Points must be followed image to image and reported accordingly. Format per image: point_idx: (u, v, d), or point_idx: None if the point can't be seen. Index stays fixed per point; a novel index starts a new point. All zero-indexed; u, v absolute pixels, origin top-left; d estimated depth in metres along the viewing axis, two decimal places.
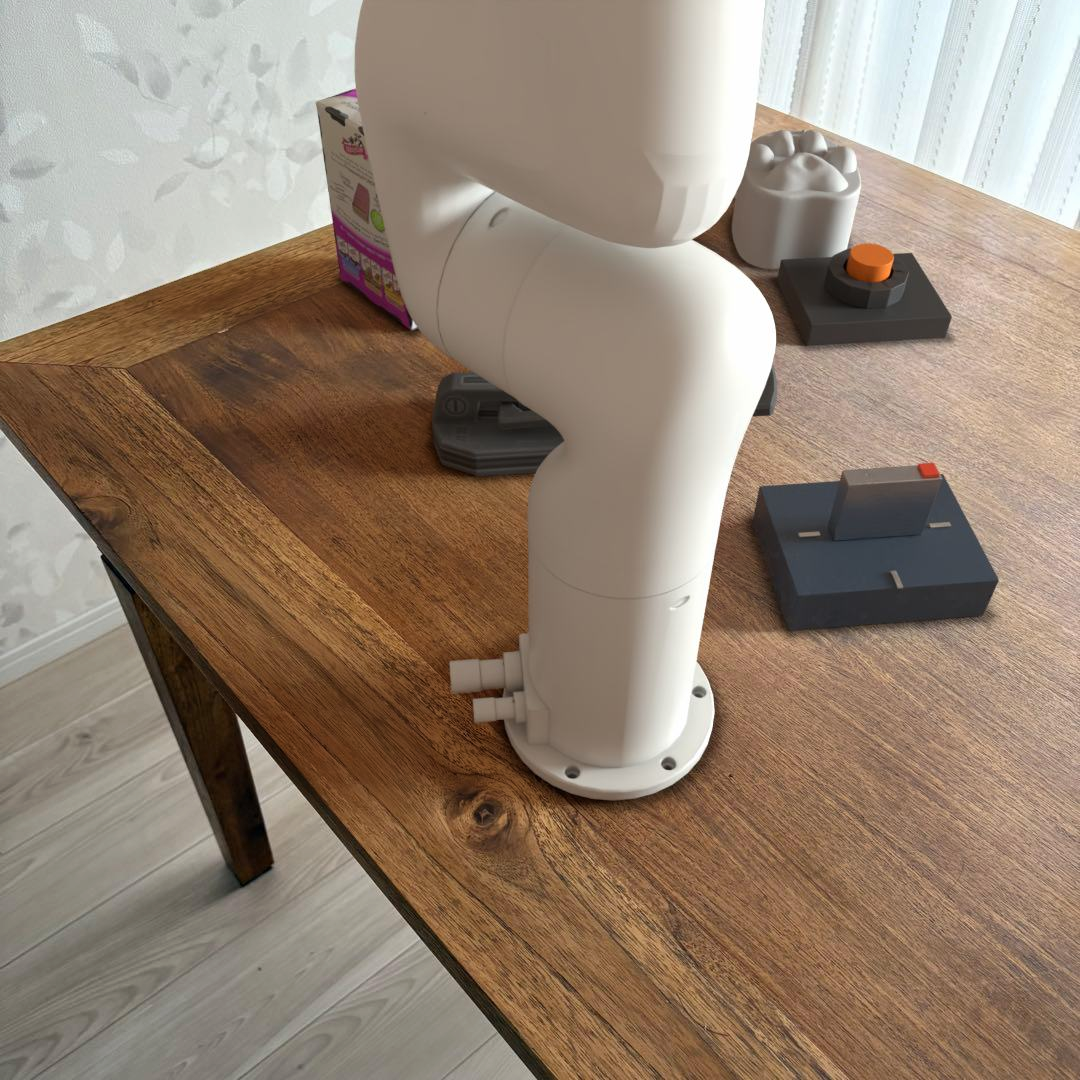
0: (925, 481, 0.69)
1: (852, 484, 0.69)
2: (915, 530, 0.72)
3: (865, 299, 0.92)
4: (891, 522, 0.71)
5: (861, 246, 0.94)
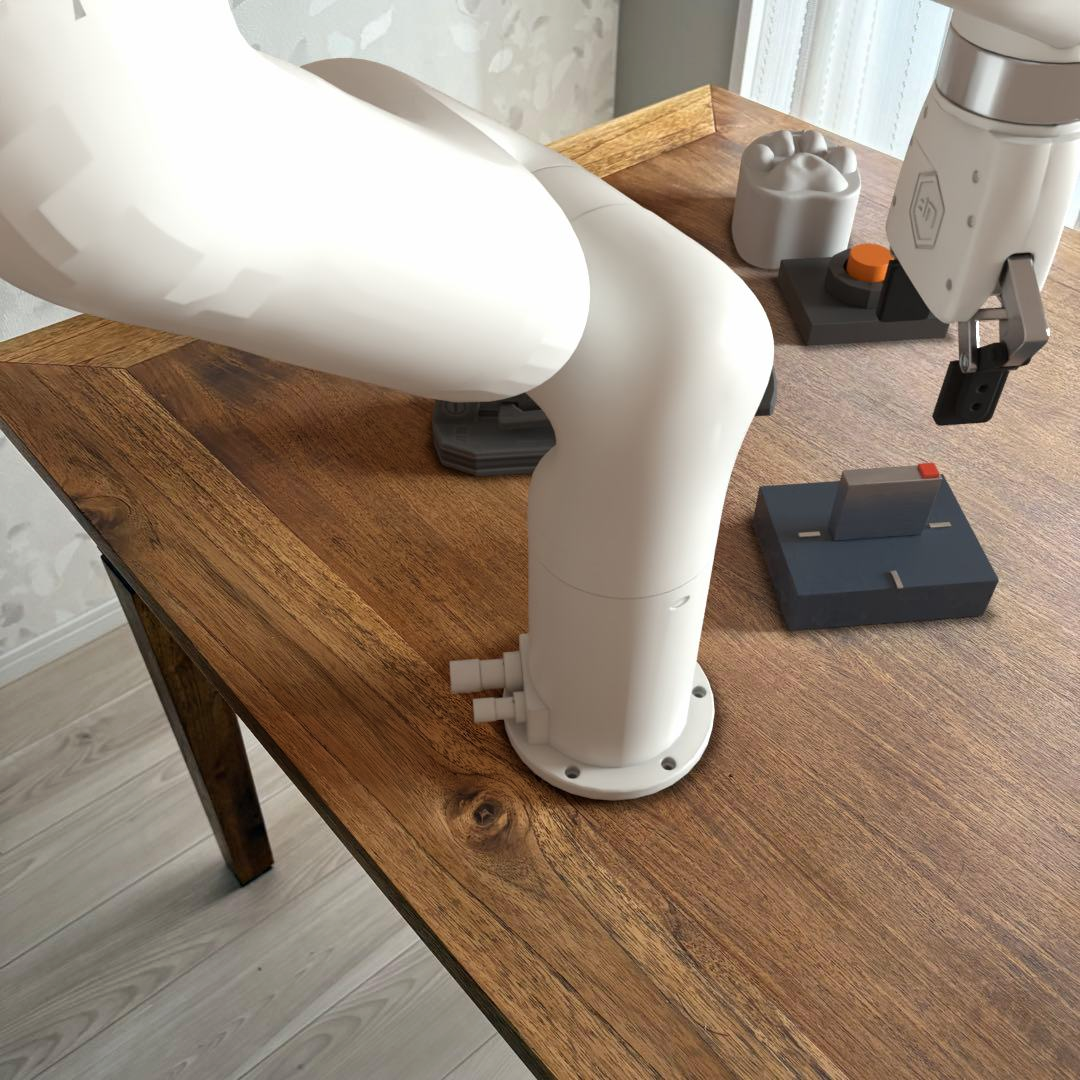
0: (925, 481, 0.69)
1: (852, 484, 0.69)
2: (915, 530, 0.72)
3: (865, 299, 0.92)
4: (891, 522, 0.71)
5: (861, 246, 0.94)
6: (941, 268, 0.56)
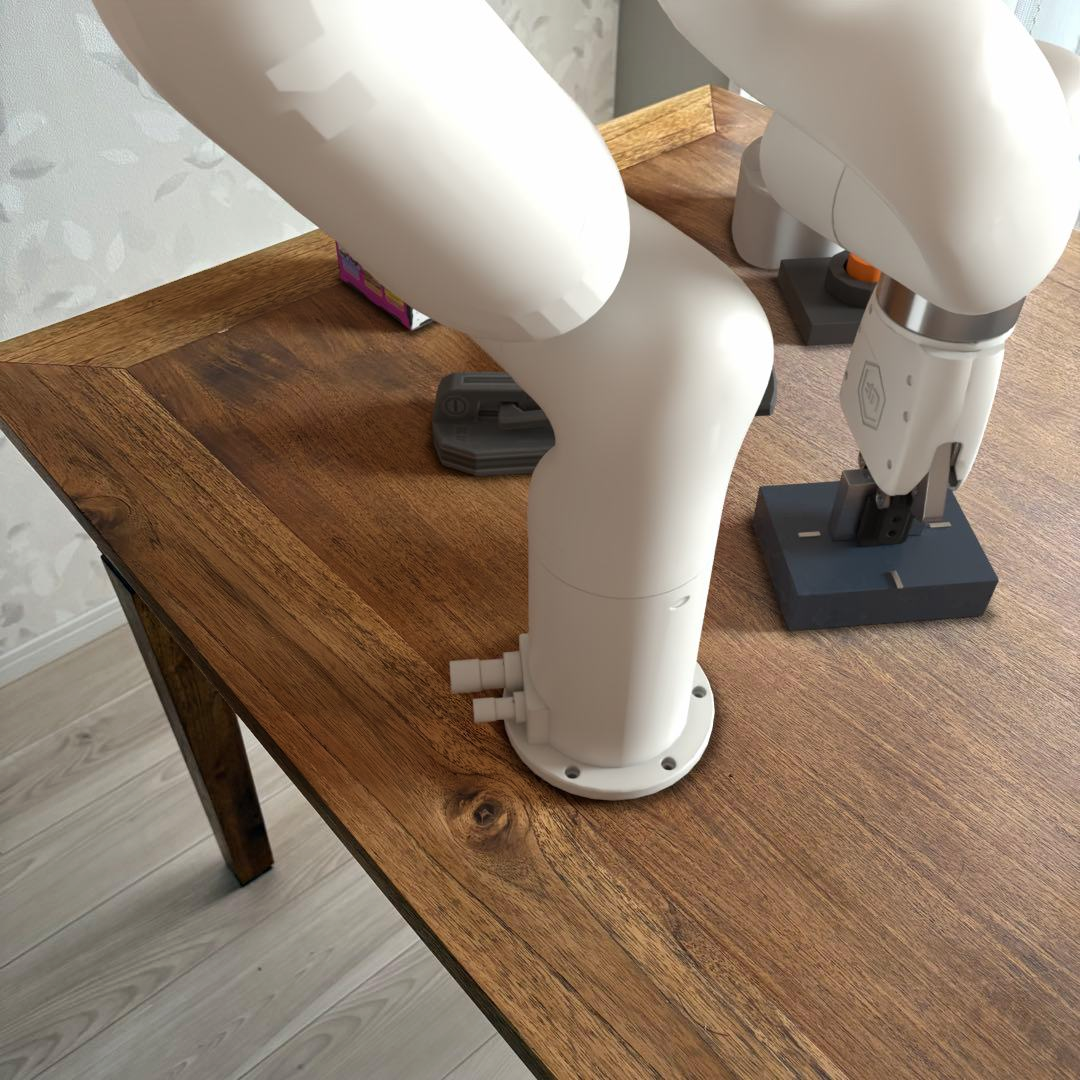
0: None
1: (852, 484, 0.69)
2: (915, 530, 0.72)
3: (865, 299, 0.92)
4: None
5: None
6: (883, 448, 0.63)
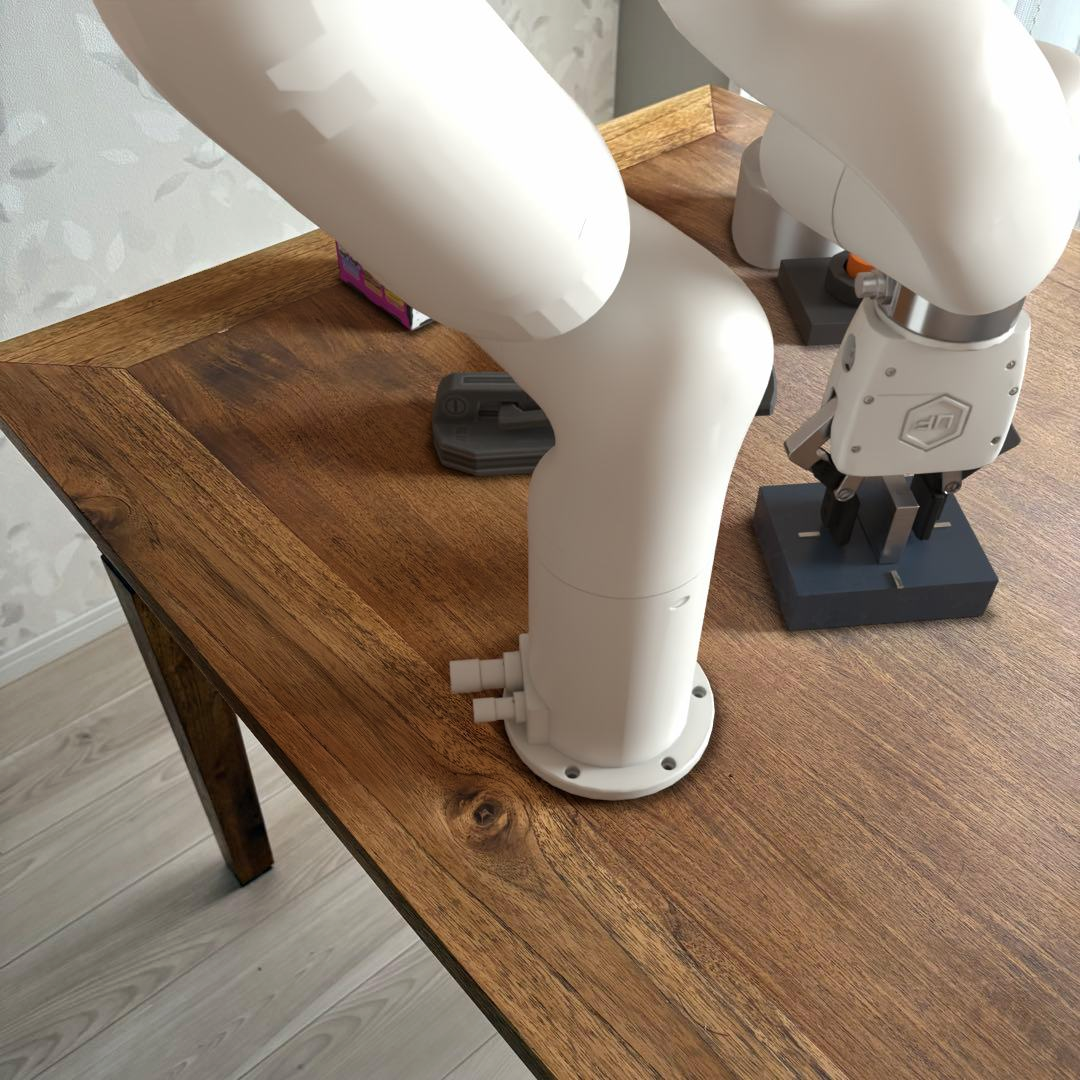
0: None
1: (917, 504, 0.67)
2: None
3: None
4: None
5: None
6: (979, 438, 0.64)
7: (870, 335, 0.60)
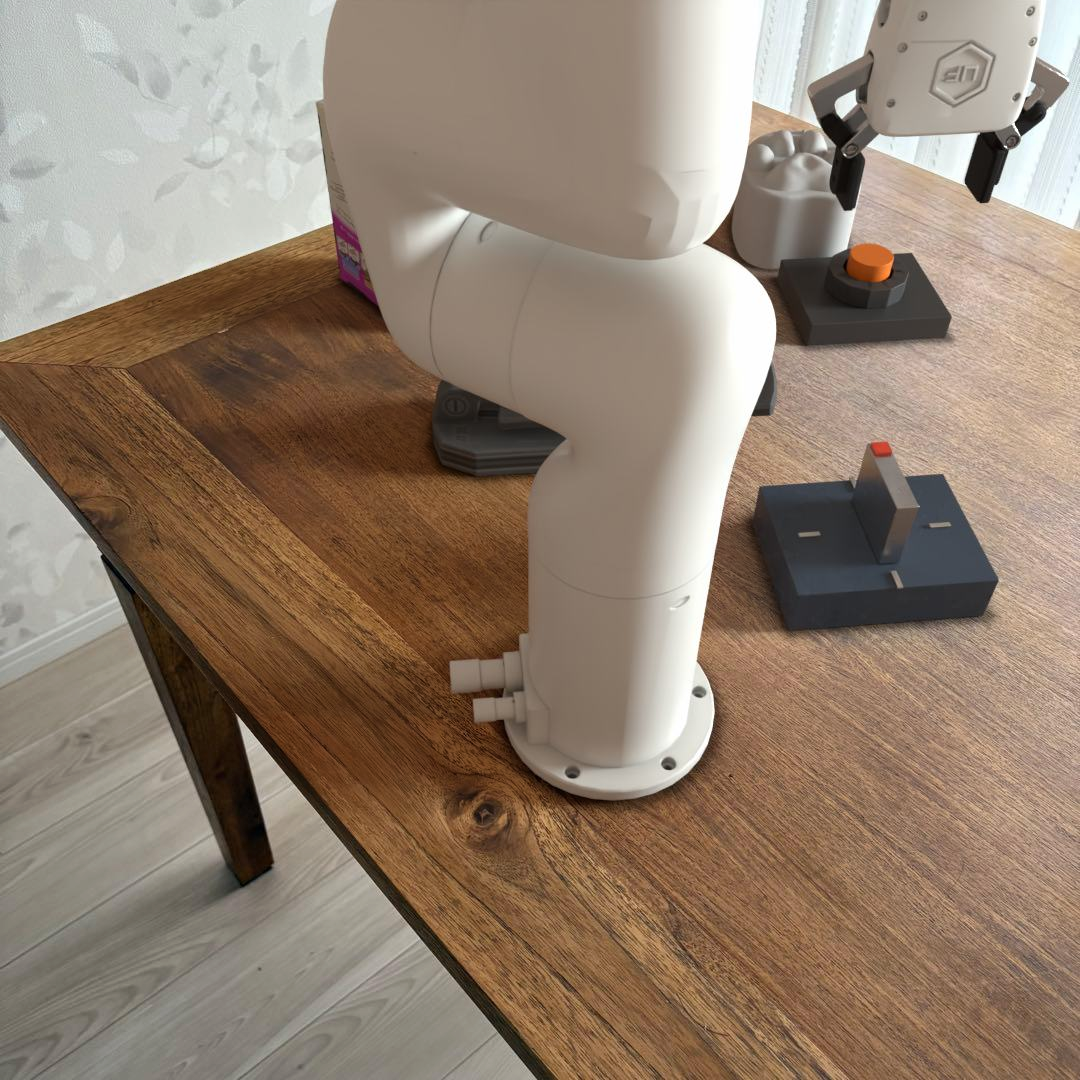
0: (892, 455, 0.71)
1: (917, 504, 0.67)
2: None
3: (865, 299, 0.92)
4: None
5: (861, 246, 0.94)
6: (1002, 94, 0.71)
7: None
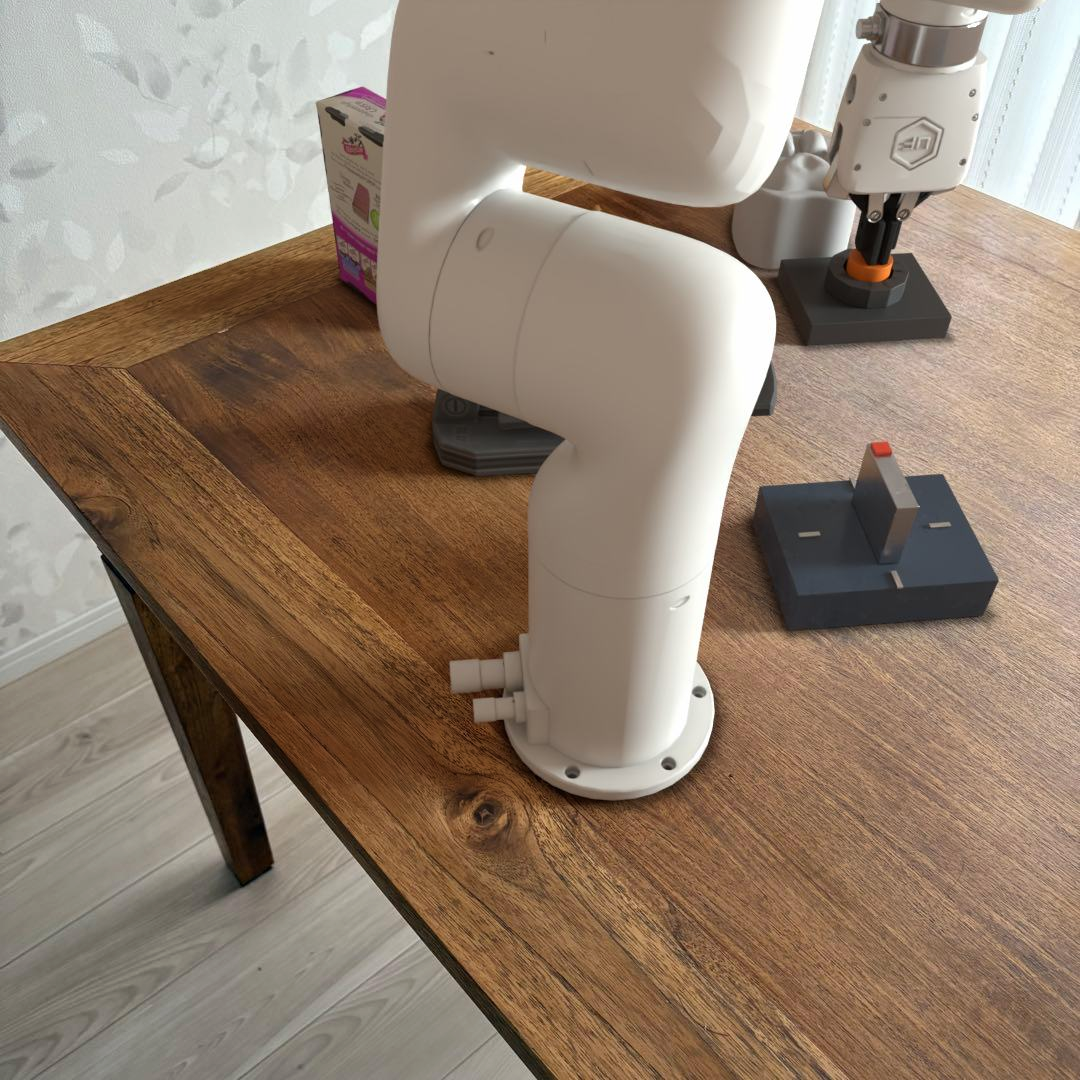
0: (892, 455, 0.71)
1: (917, 504, 0.67)
2: None
3: (865, 299, 0.92)
4: None
5: None
6: (950, 160, 0.84)
7: (867, 68, 0.80)
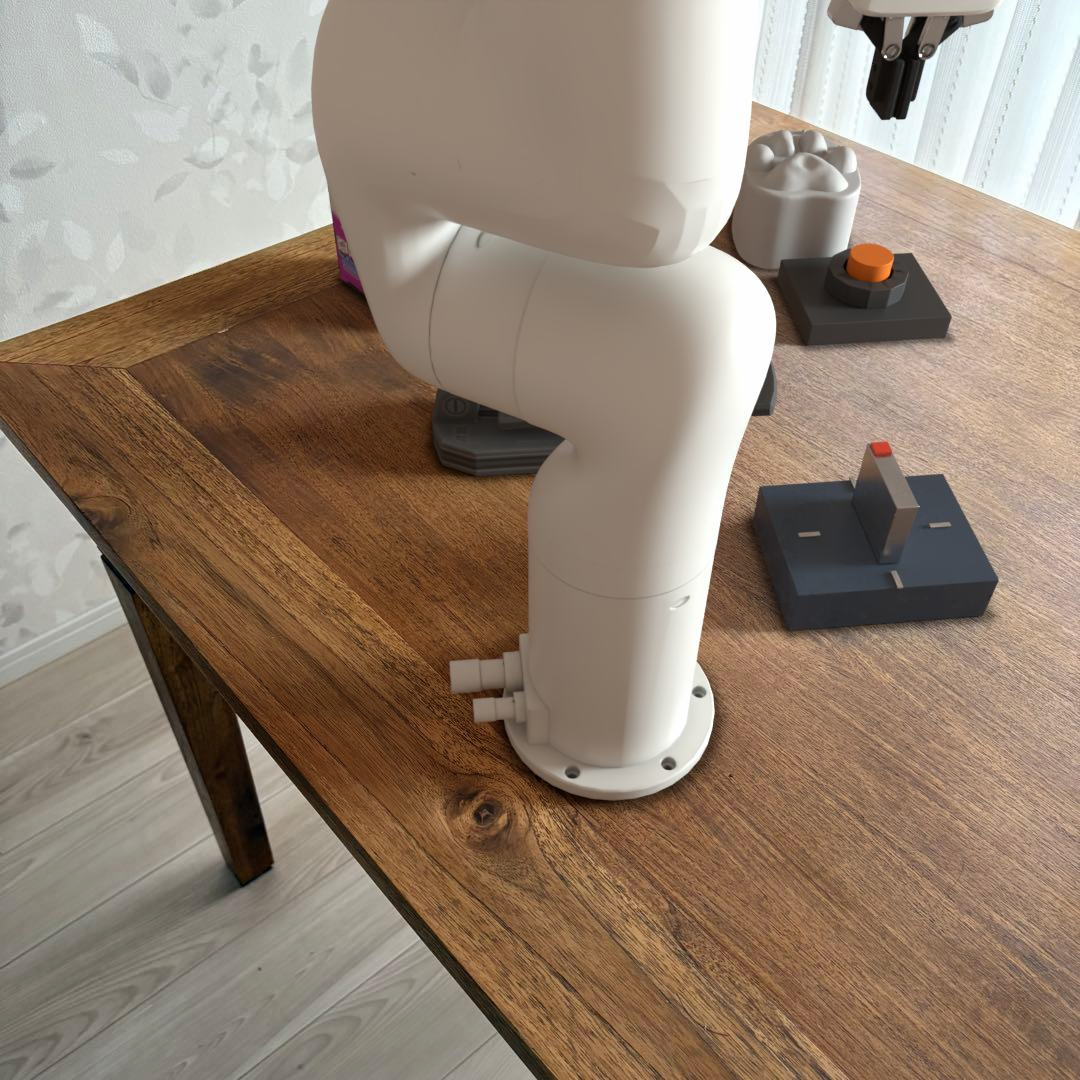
0: (892, 455, 0.71)
1: (917, 504, 0.67)
2: None
3: (865, 299, 0.92)
4: None
5: (861, 246, 0.94)
6: None
7: None
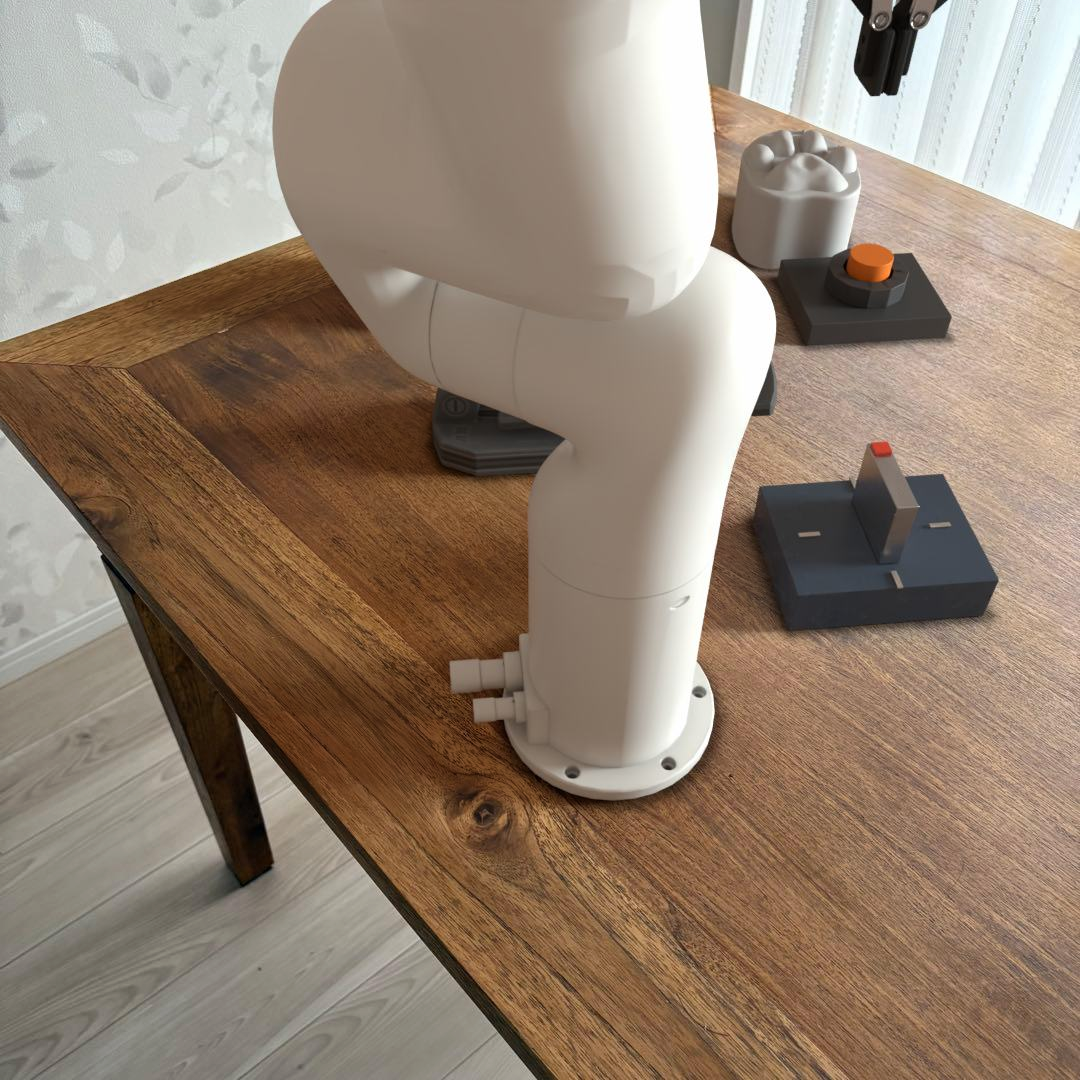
0: (892, 455, 0.71)
1: (917, 504, 0.67)
2: None
3: (865, 299, 0.92)
4: None
5: (861, 246, 0.94)
6: None
7: None
